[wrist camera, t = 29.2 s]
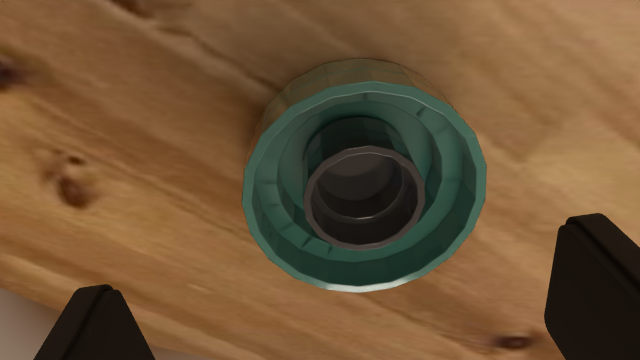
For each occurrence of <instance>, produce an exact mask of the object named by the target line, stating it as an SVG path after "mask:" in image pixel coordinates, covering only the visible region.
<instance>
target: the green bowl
mask: <svg viewBox="0 0 640 360" xmlns="http://www.w3.org/2000/svg"><path fill="white" fill-rule="evenodd" d="M354 117H366V118H371V119H375V120H379V121H382V122H384V123H386V124H387V125H388V126H390V127H391V128H392V129H394V130H395V131H397V132H398V133H399V134H400V136H401V138H402V140H403V141H404V143H405V145H406V147H407V149H408V151H409V153H410V155H411V156H412V158H413V160H414V162H415V164H416V166H417V168H418V170H419V172H420V174H421V176H422V178H423V180H424V183H425V205H424V207H423V210H422V212H421V214H420V217H419V219H418V221H417V223H416V224H415V225H414V226H413V227H412V228H411V229H410V230H409V231H408V232H407V233H406V234H405V235H404V236H403V237H402V238H401V239H398V240H396V241H394V242H392V243H390V244H388V245H386V246H384V247H382V248H377V249H370V250H363V251H356V250H350V249H344V248H339V247H336V246H334V245H332V244H331V243H329V242H327V241H326V240H324V239H322V238H320V237H319V236H318V235H317V234H316V232H315V231H314V230H313V228H312V227H311V226H310V224H309V223H308V222H307V220H306V216H305V211H304V206H303V161H304V157H305V154H306V150H307V147H308V146H309V144H310V143H311V142H312V140H313V139H314V138H315V137H316V135H317V134H318V133H319V132H320V131H321V130H322V129H324V128H326V127H327V126H329V125H331V124H333V123H334V122H336V121H338V120H342V119H348V118H354ZM486 166H487V165H486V162H485V160H484V157H483V154H482V151H481V148H480V145H479V142H478V140H477V137H476V134H475V133H474V131H473V130H472V129H471V128H470V127H469V126H468V124H467V123H466V122H465V121H464V120H463V119H462V118H461V117H460V115H459V114H458V113H457V112H456V111H455V110H454V109H453V107H452V106H451V105H450V104H449V103H448V102H447V101H446V100H445V98H444V97H443V96H442V95H441V94H440V93H439V92H438V91H437V90H436V88H435V87H434V86H433V85H432V84H431V83H430V82H429V81H428V80H427V79H425V78H423V77H421V76H420V75H418V74H416V73H414V72H412V71H410V70H408V69H407V68H405V67H403V66H401V65H399V64H396V63H391V62H384V61H378V60H372V59H366V58H362V59H361V58H357V59H351V60H345V61H338V62H332V63H326V64H325V65H324V64H323V65H321V66H319V67H317V68H315V69H313V70H311V71H309V72H307V73H305V74H303V75H302V76H300V77H298V78H296V79H294V80H292V81H291V82H290V83H289V84H288V85H287V86H286V87H285V88H284V89H283V90H282V91H281V92H280V93H279V94H278V95H277V96H276V97H275V98H274V99H273V100H272V101H271V102H270V103H269V104H268V106H267V107H266V109H265V111H264V113H263V115H262V117H261V119H260V121H259V123H258V126H257V128H256V130H255V132H254V134H253V138H252V142H251V145H250V149H249V154H248V157H247V161H246V165H245V169H244V180H243V191H242V206H243V210H244V213H245V217H246V220H247V224H248V227H249V231H250V233H251V235H252V237H253V238H254V239H255V241H256V242H257V244H258V245H259V246H260V248H261V249H262V250H263V252H264V253H265V255H266V256H267V257H268V259H269V260H270V261H272V262H273V263H274V264H276V265H277V266H278V267H280V268H281V269H283V270H284V271H285V272H287V273H288V274H289V275H291V276H292V277H294V278H295V279H298V280H301V281H303V282H306V283H309V284H312V285H314V286H317V287H320V288H323V289H326V290H334V291H344V292H355V293H358V292H359V293H362V292H369V291H376V290H383V289H390V288H394V287H396V286H399V285H402V284H404V283H407V282H409V281H412V280H414V279H417V278H420V277H422V276H423V275H426V274H427V273H429V272H430V271H431V270H433V269H434V268H436V267H437V266H438V265H440V264H441V263H443V262H444V261H446V260H447V259H448V258H450V257H451V256H452V255H453V254H454V253H455V251H456V250H457V249H458V248H459V246H460V245H461V244H462V243H463V242H464V240H465V239H466V238H467V237H468V236H469V234H470V233H471V232H472V230H473V229H474V226H475V224H476V221H477V219H478V217H479V214H480V212H481V209H482V207H483V204H484V202H485V194H486V170H487V167H486Z"/></svg>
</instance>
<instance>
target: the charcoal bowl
mask: <svg viewBox="0 0 640 360" xmlns="http://www.w3.org/2000/svg"><path fill="white" fill-rule="evenodd" d="M424 205H425V183H424V180H423V178H422V176H421V174H420V172H419V170H418V168H417V166H416V164H415V162H414V160H413V158H412V156H411V155H410V153H409V151H408V149H407V147H406V145H405V143H404V141H403V140H402V138H401V136H400V134H399V133H398V132H397V131H395V130H394V129H392V128H391V127H390V126H388V125H387V124H386V123H384V122H382V121H379V120H375V119H371V118H366V117H354V118H348V119H342V120H338V121H336V122H334V123H333V124H331V125H329V126H327V127H326V128H324V129H322V130H321V131H320V132H319V133H318V134H317V135H316V137H315V138H314V139H313V140H312V142H311V143H310V144H309V146H308V147H307V150H306V154H305V157H304V161H303V206H304V211H305V216H306V220H307V222H308V223H309V224H310V226H311V227H312V228H313V230H314V231H315V232H316V234H317V235H318V236H319V237H320V238H322V239H324V240H326V241H327V242H329V243H331V244H332V245H334V246H336V247H339V248H344V249H350V250H356V251H363V250H370V249H377V248H382V247H384V246H386V245H388V244H390V243H392V242H394V241H396V240H398V239H401V238H402V237H403V236H404V235H405V234H406V233H407V232H408V231H409V230H410V229H411V228H412V227H413V226H414V225H415V224H416V223H417V221H418V219H419V217H420V214H421V212H422V210H423V207H424Z"/></svg>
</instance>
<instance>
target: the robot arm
mask: <svg viewBox="0 0 640 360" xmlns="http://www.w3.org/2000/svg"><path fill="white" fill-rule="evenodd" d="M544 319H545V324H546V327H547V330H548V332H549V334H550V335H551V337H552V339H553V340H554V342H555V343H556V345H557V346H558V348H559V350H560V351H561V353H562V354H563V356H564V358H565V359H566V360H640V247H638V246H637V245H636V244H635V243H634V242H633V241H632V240H631V239H630V238H629V237H628V236H627V235H625V234H624V233H623V232H622V231H621V230H620V229H619V228H618V227H617V226H616V225H615V224H614V223H612V222H611V221H610V220H609V219H608V218H607V217H606V216H604V215H603V214H600V213H595V214H588V215H581V216H574V217H570V218H568V220H567V221H566V224H565V225H562V226H560V228H559V230H558V235H557V241H556V247H555V253H554V259H553V265H552V271H551V277H550V283H549V289H548V296H547V302H546V308H545V314H544ZM34 360H155V358H154V356H153V354H152V352H151V350H150V348H149V346H148V344H147V342H146V340H145V338H144V336H143V335H142V333H141V331H140V329H139V327H138V325H137V323H136V321H135V319H134V317H133V315H132V313H131V311H130V309H129V307H128V305H127V303H126V301H125V299H124V298H123V296H122V294H121V292H120V291H119V290H113V288H112V287H111V286H110V285H108V284H104V285H97V286H90V287H83V288H79V289H77V290H76V291H75V293H74V294H73V296H72V297H71V299H70V300H69V302H68V304H67V305H66V307H65V309H64V310H63V312H62V314H61V315H60V317H59V318H58V320H57V322H56V323H55V325H54V327H53V328H52V330H51V332H50V333H49V335H48V336H47V338H46V340H45V341H44V343H43V345H42V346H41V348H40V350H39V351H38V353H37V355H36V356H35V358H34Z"/></svg>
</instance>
